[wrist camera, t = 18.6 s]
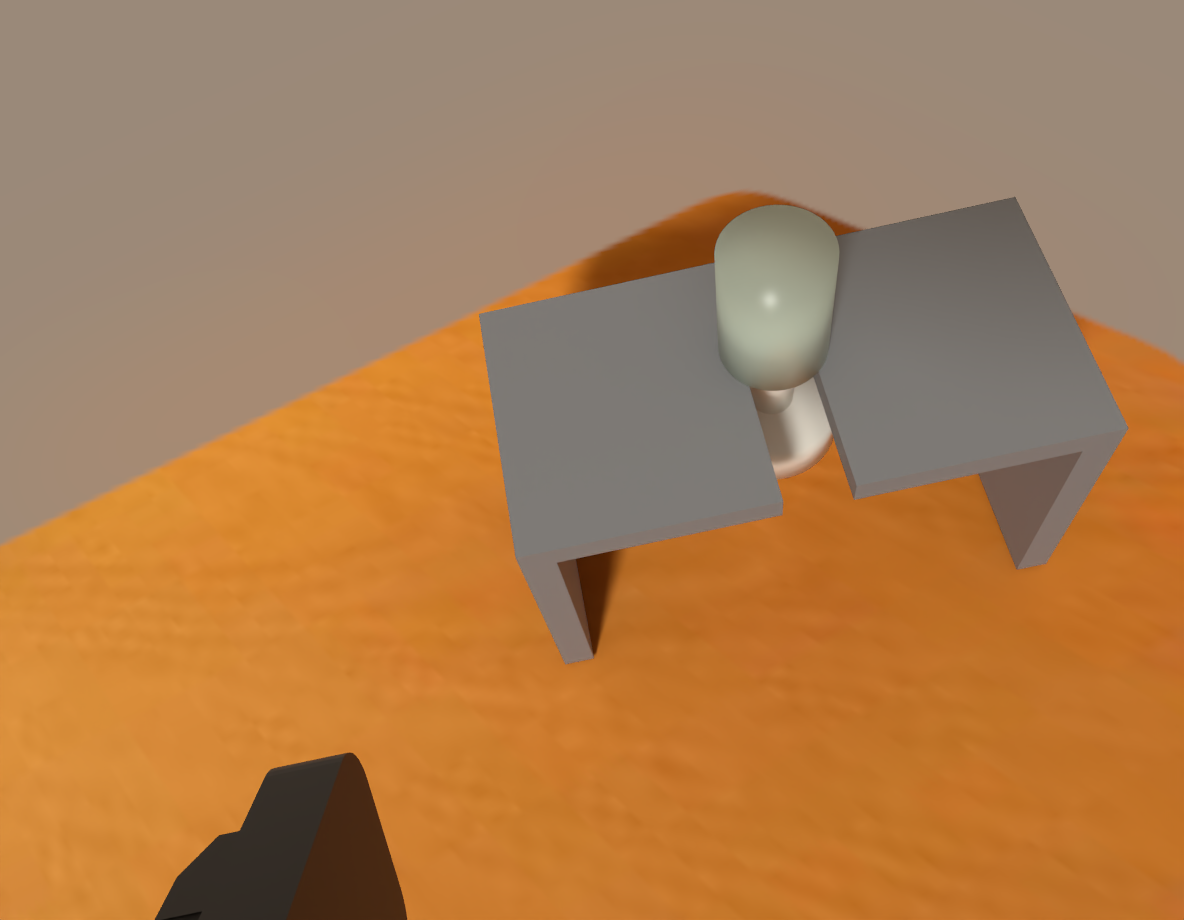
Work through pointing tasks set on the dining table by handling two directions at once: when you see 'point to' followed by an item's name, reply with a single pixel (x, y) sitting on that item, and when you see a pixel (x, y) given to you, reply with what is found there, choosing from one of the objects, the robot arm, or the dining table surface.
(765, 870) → the dining table surface
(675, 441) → the slotted rack
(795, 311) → the wine glass
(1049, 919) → the dining table surface
